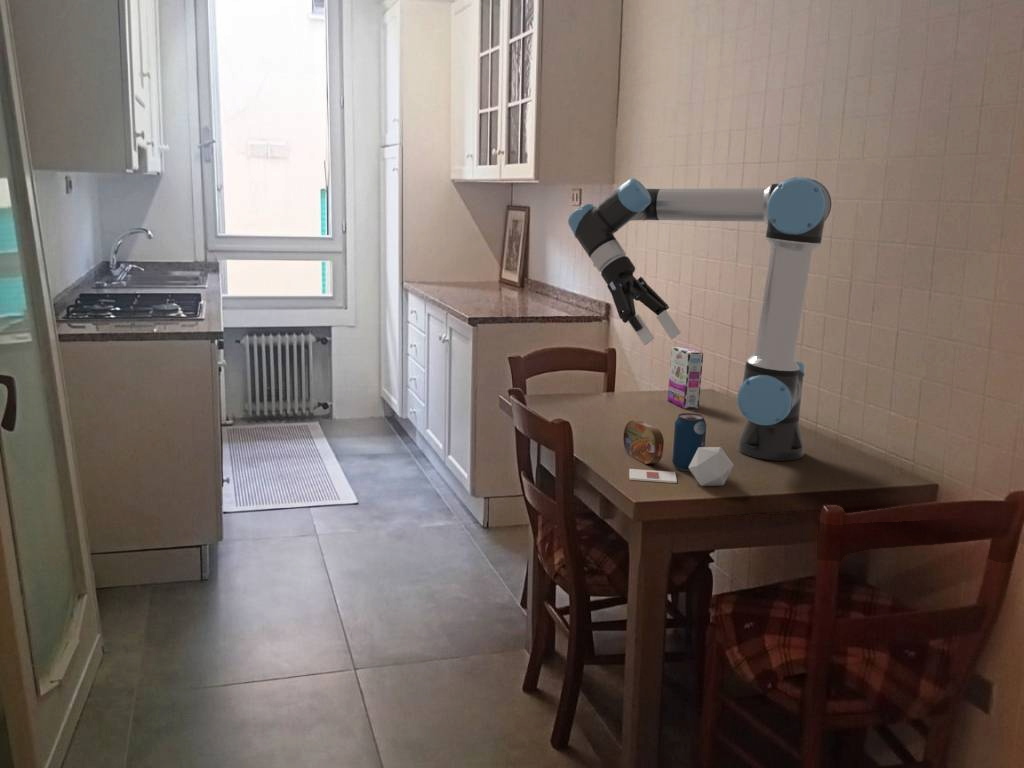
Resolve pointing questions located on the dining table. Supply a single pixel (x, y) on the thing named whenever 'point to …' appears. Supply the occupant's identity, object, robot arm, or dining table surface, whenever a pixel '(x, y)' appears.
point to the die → (710, 466)
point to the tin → (643, 442)
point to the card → (652, 475)
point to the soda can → (687, 439)
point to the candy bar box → (685, 377)
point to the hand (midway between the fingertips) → (663, 339)
